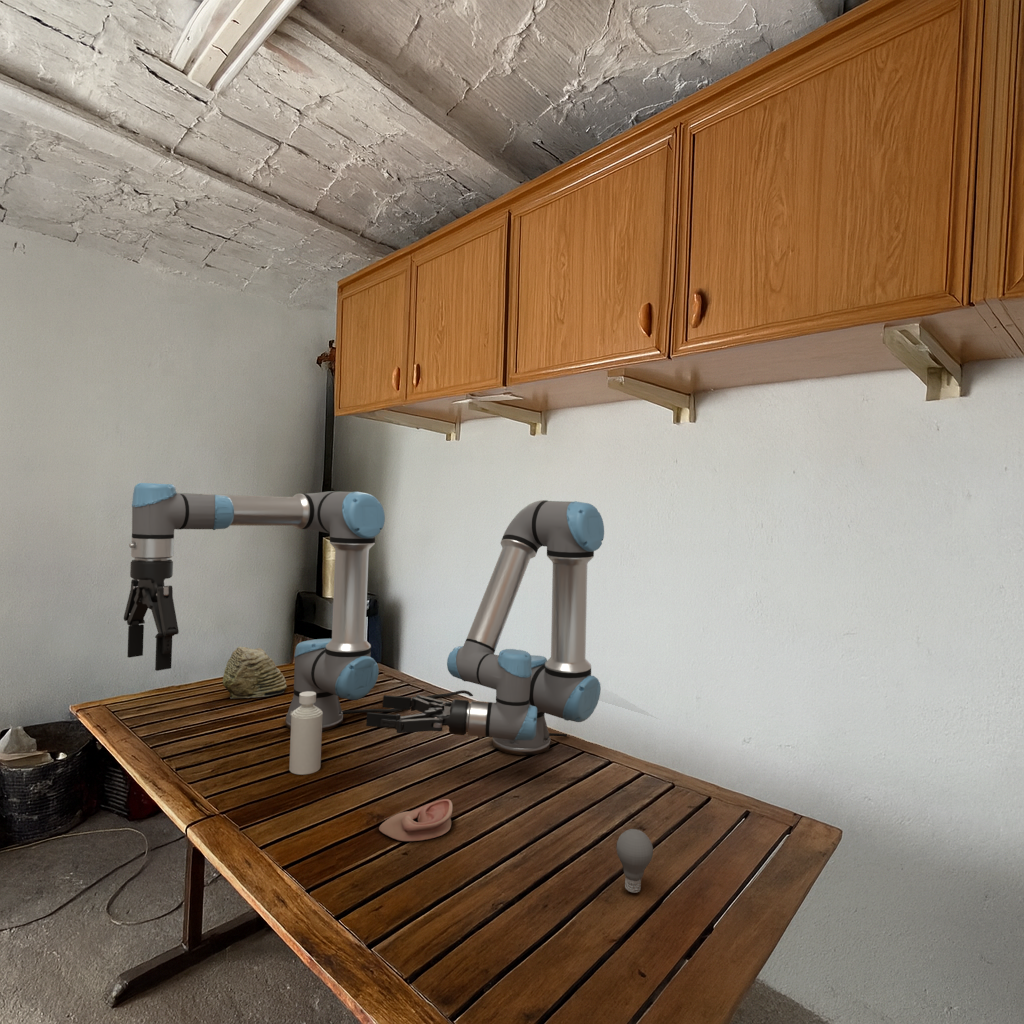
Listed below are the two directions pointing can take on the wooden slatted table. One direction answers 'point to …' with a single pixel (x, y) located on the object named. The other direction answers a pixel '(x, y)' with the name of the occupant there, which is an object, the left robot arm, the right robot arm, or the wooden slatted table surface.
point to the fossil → (252, 674)
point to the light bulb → (634, 857)
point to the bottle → (305, 739)
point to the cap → (307, 697)
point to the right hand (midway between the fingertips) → (375, 709)
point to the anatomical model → (420, 822)
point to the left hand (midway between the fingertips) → (148, 662)
